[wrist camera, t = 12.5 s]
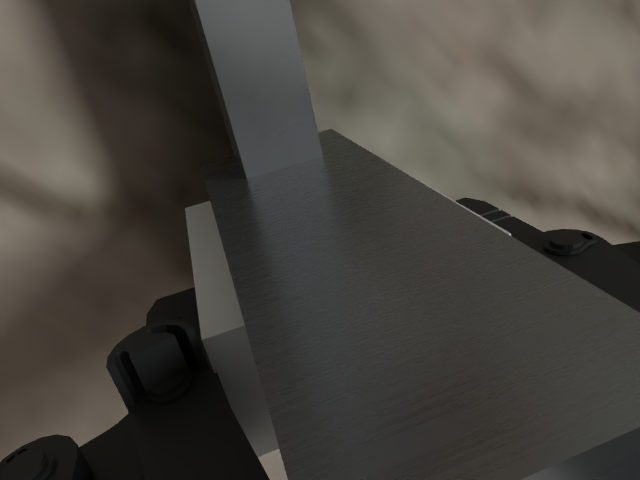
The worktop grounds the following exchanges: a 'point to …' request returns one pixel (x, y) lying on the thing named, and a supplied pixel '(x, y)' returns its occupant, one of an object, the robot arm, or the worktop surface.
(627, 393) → the hook tool
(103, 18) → the worktop surface
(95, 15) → the worktop surface
